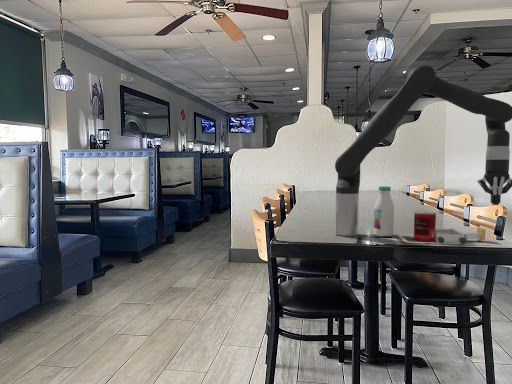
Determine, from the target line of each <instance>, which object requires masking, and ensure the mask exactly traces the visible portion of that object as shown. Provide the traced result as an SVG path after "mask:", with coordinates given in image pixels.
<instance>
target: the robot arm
mask: <svg viewBox="0 0 512 384" xmlns="http://www.w3.org/2000/svg"><path fill="white" fill-rule="evenodd" d="M425 93H426V94H429V95H432V96H435V97H437V98H440V99H442V100H444V101H446V102H449V103H450V104H453V105H454V106H456V107H458V108H461V109H463V110H465V111H467V112H469V113H471V114H475V115H482V116H484V117H485V118H484V119H485V120H484V121H485V127H486V133H487V143H486V152H485V167H484V168H485V173H484V175H483V177H482V178H481V179H477V183H478V185H479V186H480V187H481V188H482V189H483V191H484V192H485V193H487V194H489V195H490V203H491V204H492V205H493V206H499V204H501V199H502V198H501V196H502V195H503V194H507V193H508V192H509V191H510V189H511V188H512V178H511V177H510V176H511V175H510V172H509V171H510V154H511V150H510V143H511V142H510V137H511V136H510V131H508V130H507V129H506V123H508V122H510V121H512V105H510V104H509V103H507V102H506V101H502V100H498V99H496V98H495V99H494V98H491V97H487V96H485V95H483V94H481V93H479V92H477V91H474V90H472V89H470V88H467V87H463V86H461V85H458V84H454V83H451V82H449V81H446V80H444V79H442V78H441V77H438V75H437V74H436V71H435V69H434V68H433V67H432V66H430V65H426V64H423V65H417V66H415V67H414V68H413V69H411V70H410V71H409V72H408V74H407V75H406V81H405V82H404V84H402V86H401V87H400V89H399V90H398V91H397V93H395V94H394V95H393V96H392V98H390V99H389V100H388V101H387V102H385V103H384V104H383V105H382V106H381V107H380V108H379V109H378V111H377V112H376V113H375V114H374V115H373V116H372V118H371V119H370V120H369V121H368V123H366V125H365V127H364V128H363V129H362V130H361V132H360V133H359V135H358V136H357V138H356V139H355V140H354V141H353V142H352V144H351V145H349V147H348V148H347V149H345V151H343V152H342V153H341V154H340V155H339V156H338V157H337V159H336V160H335V164H334V168H335V169H334V170H335V171H336V173H337V182H336V186H335V210H334V233H335V235H336V236H343V237H345V236H346V237H355V236H358V235H359V207H360V206H359V203H360V186H361V185H360V184H361V164H362V163H363V161H364V160H365V158H366V157H367V156H368V155H369V154H370V152H371V151H373V150H374V149H375V148H376V147H377V146H379V145H380V144H381V143H382V142H383V141H384V140H386V138H387V137H388V136H389V135H390V134H391V133H392V132H393V131H394V129H395V128H397V126H398V125H399V123H400V122H401V121H402V120H403V119H404V117H405V115H406V114H407V113H408V112H409V110H410V109H411V108H412V106H413V105H414V104H415V103H416V102H417V101H418V100H419V99H420V98H421V97H422V96H423V95H424V94H425Z"/></svg>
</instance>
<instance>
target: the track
mask: <svg viewBox="0 0 512 384" xmlns="http://www.w3.org/2000/svg"><path fill="white" fill-rule="evenodd" d="M397 236H398V237H399V238H400V239H401V240H402V241H403V242H404V241H405V242H404V243H406V244H424V243H431V245H432V244H433V245H458V244H465V246H490V244H489V243H436V242H431V241H408V240H407V238H405V237H414V234H397ZM435 238H436V236H435Z"/></svg>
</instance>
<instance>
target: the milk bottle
mask: <svg viewBox="0 0 512 384" xmlns="http://www.w3.org/2000/svg"><path fill="white" fill-rule="evenodd" d="M378 192H379V193H378V197H377V199H376V200H375V204H374V209H373V210H374V211H373V212H374V213H373V234H374V235H375V236H380V237H392V236H393V235H394V228H395V227H394V223H395V221H394V219H395V217H394V216H395V206H394V202H393V200H392V197H391V186H388V185H387V186H378Z"/></svg>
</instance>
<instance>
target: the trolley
mask: <svg viewBox="0 0 512 384" xmlns="http://www.w3.org/2000/svg"><path fill="white" fill-rule="evenodd" d="M486 232H487V231H486V229H485V228H482V227H476V232H461V231H459V230H457V229H455V228H435V236H436V237H435V239H434V241H435V242H434V243H465V244H468V241H467V240H477V241H480V242H483V243H484V242H486Z"/></svg>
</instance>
